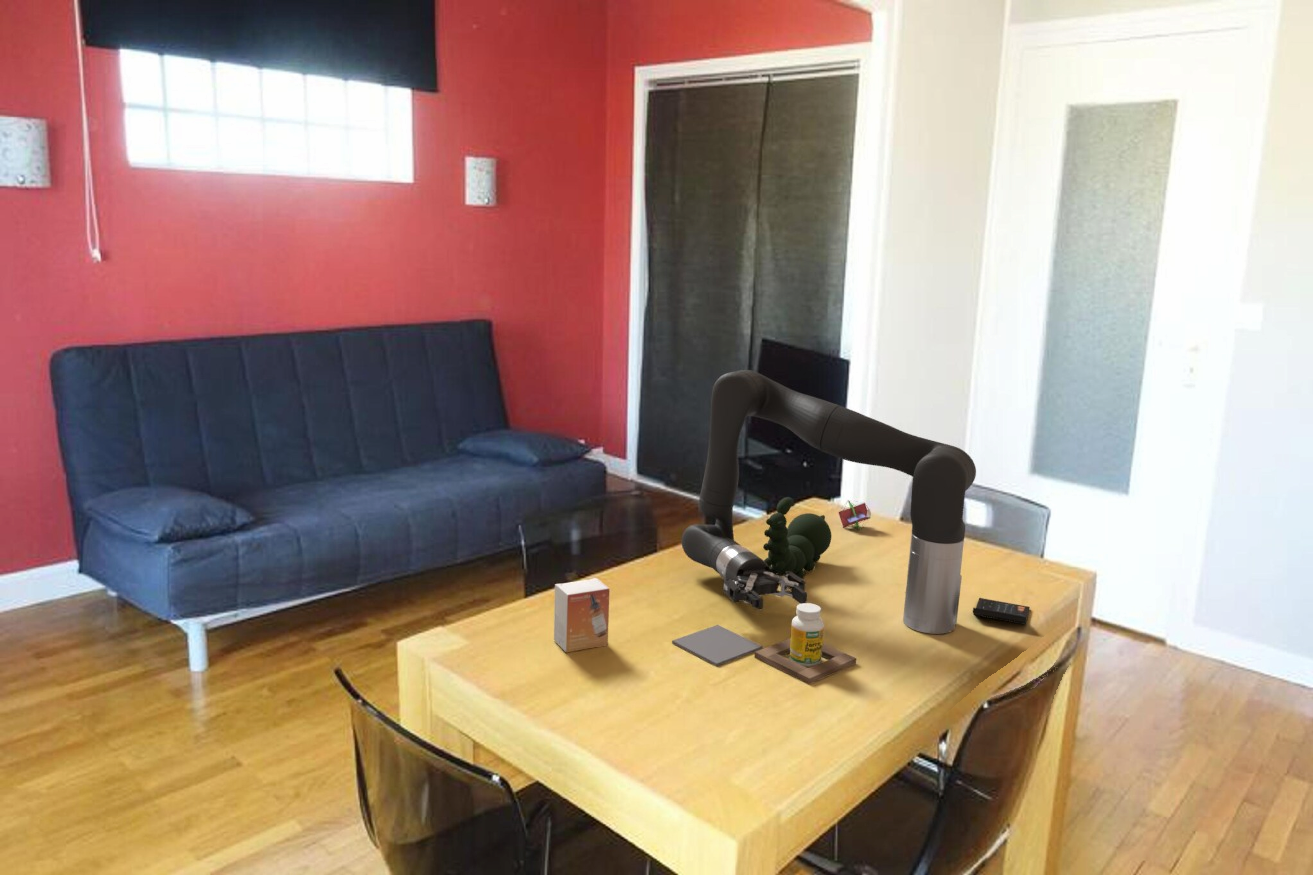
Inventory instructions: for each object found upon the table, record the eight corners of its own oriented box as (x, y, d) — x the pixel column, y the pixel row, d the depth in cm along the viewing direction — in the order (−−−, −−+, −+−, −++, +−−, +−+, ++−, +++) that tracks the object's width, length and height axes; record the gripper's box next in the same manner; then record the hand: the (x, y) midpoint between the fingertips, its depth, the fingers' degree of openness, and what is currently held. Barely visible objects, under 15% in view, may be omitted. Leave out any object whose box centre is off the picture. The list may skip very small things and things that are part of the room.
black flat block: (1029, 610, 192) (1031, 596, 191) (1024, 633, 181) (1026, 618, 181) (978, 601, 195) (980, 587, 195) (971, 623, 185) (973, 608, 184)
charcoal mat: (717, 627, 179) (717, 624, 178) (762, 648, 171) (762, 646, 170) (671, 643, 171) (672, 640, 171) (716, 666, 163) (716, 663, 163)
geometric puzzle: (835, 523, 233) (858, 498, 232) (828, 514, 239) (850, 489, 238) (858, 541, 234) (880, 515, 233) (850, 531, 241) (871, 506, 240)
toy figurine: (793, 600, 196) (842, 555, 216) (796, 511, 191) (846, 473, 211) (750, 589, 201) (803, 546, 221) (752, 502, 196) (805, 466, 216)
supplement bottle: (806, 651, 170) (810, 598, 168) (828, 663, 166) (832, 610, 164) (782, 657, 167) (786, 604, 165) (803, 670, 163) (807, 616, 161)
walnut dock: (801, 639, 175) (801, 633, 175) (856, 663, 166) (856, 658, 166) (754, 657, 167) (754, 651, 167) (809, 684, 158) (809, 678, 158)
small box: (565, 653, 166) (566, 595, 164) (553, 640, 171) (553, 583, 169) (609, 645, 170) (610, 588, 167) (595, 632, 175) (596, 576, 172)
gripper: (709, 554, 184) (747, 586, 170) (777, 547, 189) (820, 577, 175) (707, 592, 186) (745, 626, 171) (775, 584, 191) (817, 617, 176)
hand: (783, 601), depth 173 cm, fingers open, 8 cm apart
